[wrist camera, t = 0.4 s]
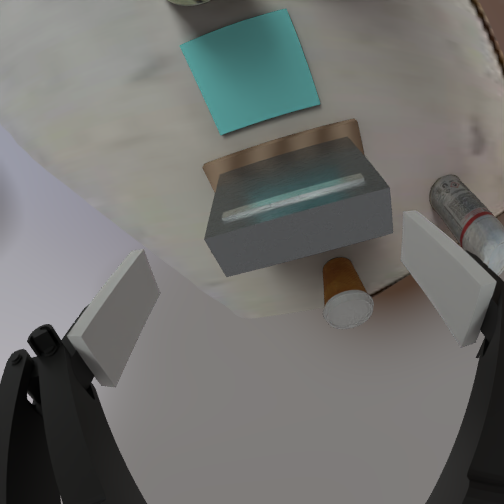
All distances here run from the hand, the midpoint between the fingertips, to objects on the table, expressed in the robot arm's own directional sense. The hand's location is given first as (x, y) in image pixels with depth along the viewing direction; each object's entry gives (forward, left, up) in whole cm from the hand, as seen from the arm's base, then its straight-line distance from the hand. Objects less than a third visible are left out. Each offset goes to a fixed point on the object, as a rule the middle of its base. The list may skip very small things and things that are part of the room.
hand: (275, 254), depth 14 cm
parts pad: (-4, -5, -31) cm, 32 cm away
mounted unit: (+4, +9, -31) cm, 33 cm away
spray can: (-14, +34, -31) cm, 48 cm away
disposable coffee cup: (+13, +32, -31) cm, 47 cm away
